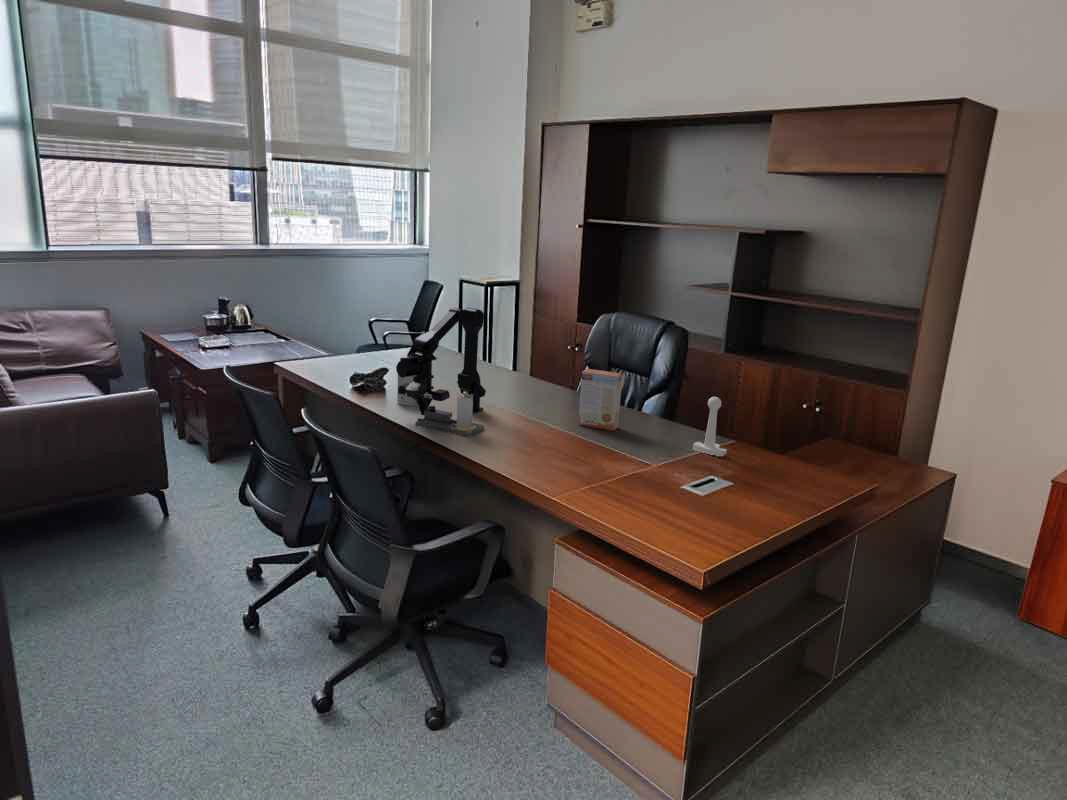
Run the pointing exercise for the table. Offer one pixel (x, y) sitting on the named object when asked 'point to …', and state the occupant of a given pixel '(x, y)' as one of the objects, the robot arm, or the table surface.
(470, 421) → the housing
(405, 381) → the ink cartridge box
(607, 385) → the cracker box
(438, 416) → the ram
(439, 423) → the press bed
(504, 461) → the table surface
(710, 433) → the joystick
